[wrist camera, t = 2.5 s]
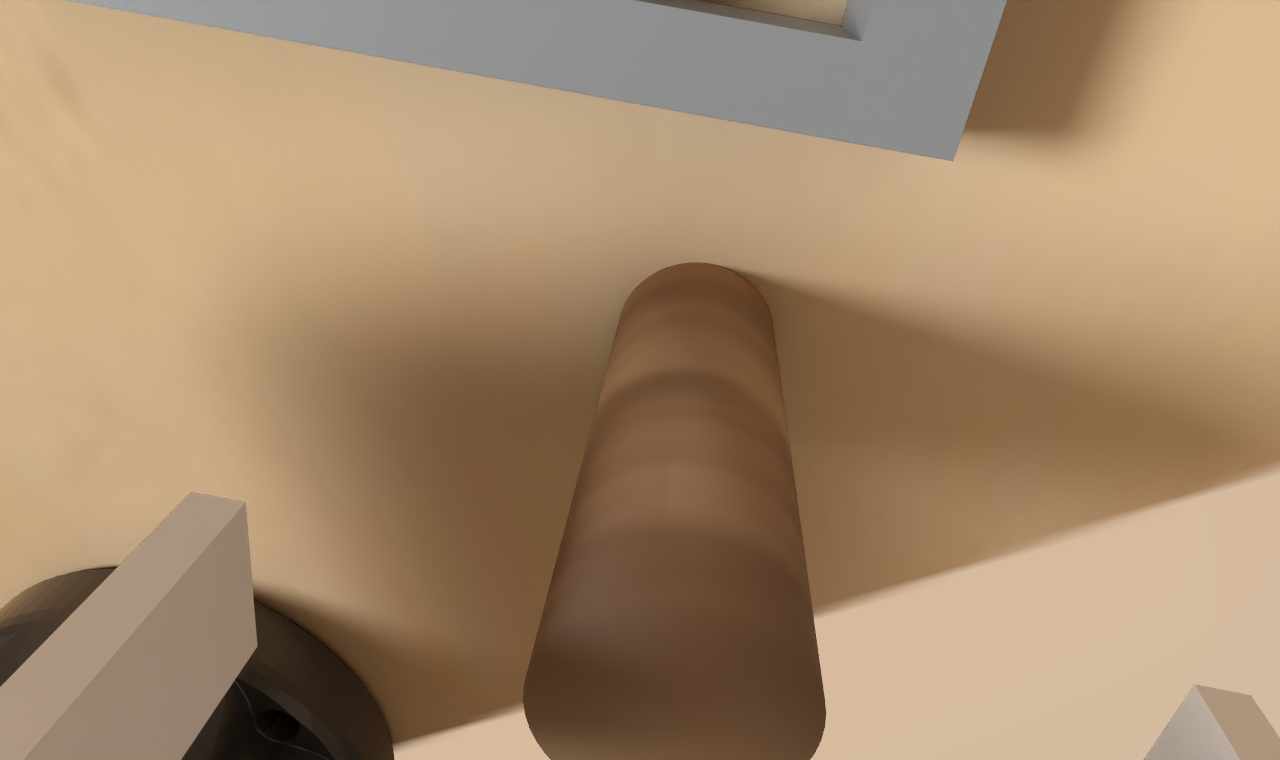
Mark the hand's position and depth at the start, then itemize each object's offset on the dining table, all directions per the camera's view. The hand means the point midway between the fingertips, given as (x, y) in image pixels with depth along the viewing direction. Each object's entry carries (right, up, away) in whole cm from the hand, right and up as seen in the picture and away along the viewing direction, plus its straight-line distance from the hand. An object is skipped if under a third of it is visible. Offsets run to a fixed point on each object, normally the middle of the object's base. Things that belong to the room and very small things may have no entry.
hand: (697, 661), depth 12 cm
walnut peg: (+1, +5, +10) cm, 11 cm away
